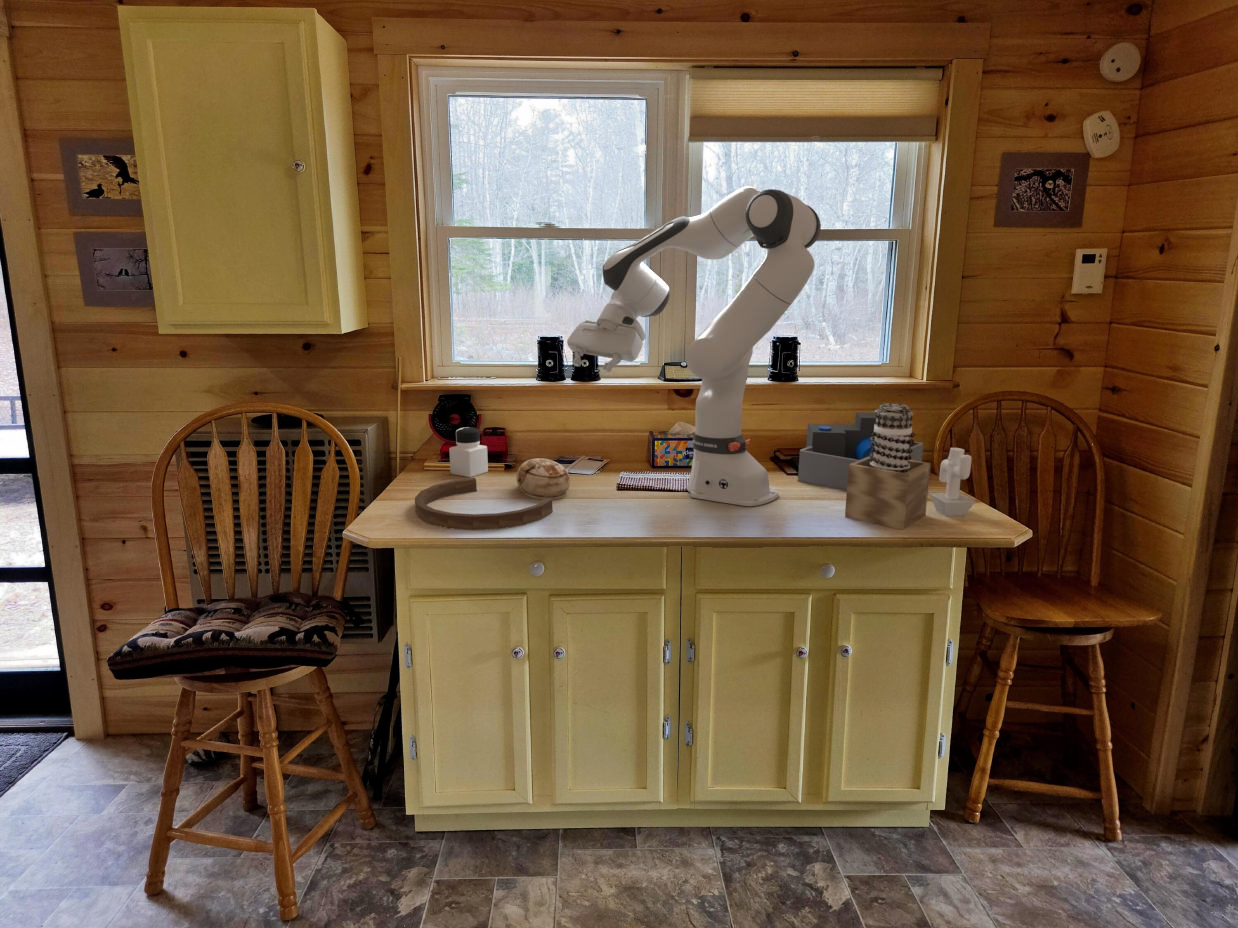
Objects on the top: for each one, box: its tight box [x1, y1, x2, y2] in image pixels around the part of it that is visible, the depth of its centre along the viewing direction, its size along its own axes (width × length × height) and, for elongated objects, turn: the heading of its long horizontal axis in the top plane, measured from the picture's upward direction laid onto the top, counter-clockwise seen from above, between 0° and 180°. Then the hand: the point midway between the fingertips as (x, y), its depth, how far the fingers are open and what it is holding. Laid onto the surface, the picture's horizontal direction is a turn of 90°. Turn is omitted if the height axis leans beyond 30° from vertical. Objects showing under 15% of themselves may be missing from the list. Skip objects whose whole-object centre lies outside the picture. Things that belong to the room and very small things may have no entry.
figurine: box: [928, 447, 976, 517], centre depth 183 cm, size 7×9×15 cm
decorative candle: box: [870, 403, 916, 473], centre depth 179 cm, size 9×9×25 cm
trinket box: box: [516, 457, 571, 500], centre depth 200 cm, size 13×15×8 cm
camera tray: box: [797, 441, 924, 492], centre depth 214 cm, size 21×30×8 cm
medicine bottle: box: [448, 426, 489, 478], centre depth 215 cm, size 7×7×12 cm
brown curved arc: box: [414, 477, 553, 531], centre depth 184 cm, size 31×24×3 cm
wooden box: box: [844, 456, 932, 530], centre depth 181 cm, size 13×13×12 cm
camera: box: [805, 411, 876, 460], centre depth 214 cm, size 25×16×16 cm, turn 84°
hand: (590, 367), depth 206 cm, fingers open, 8 cm apart
